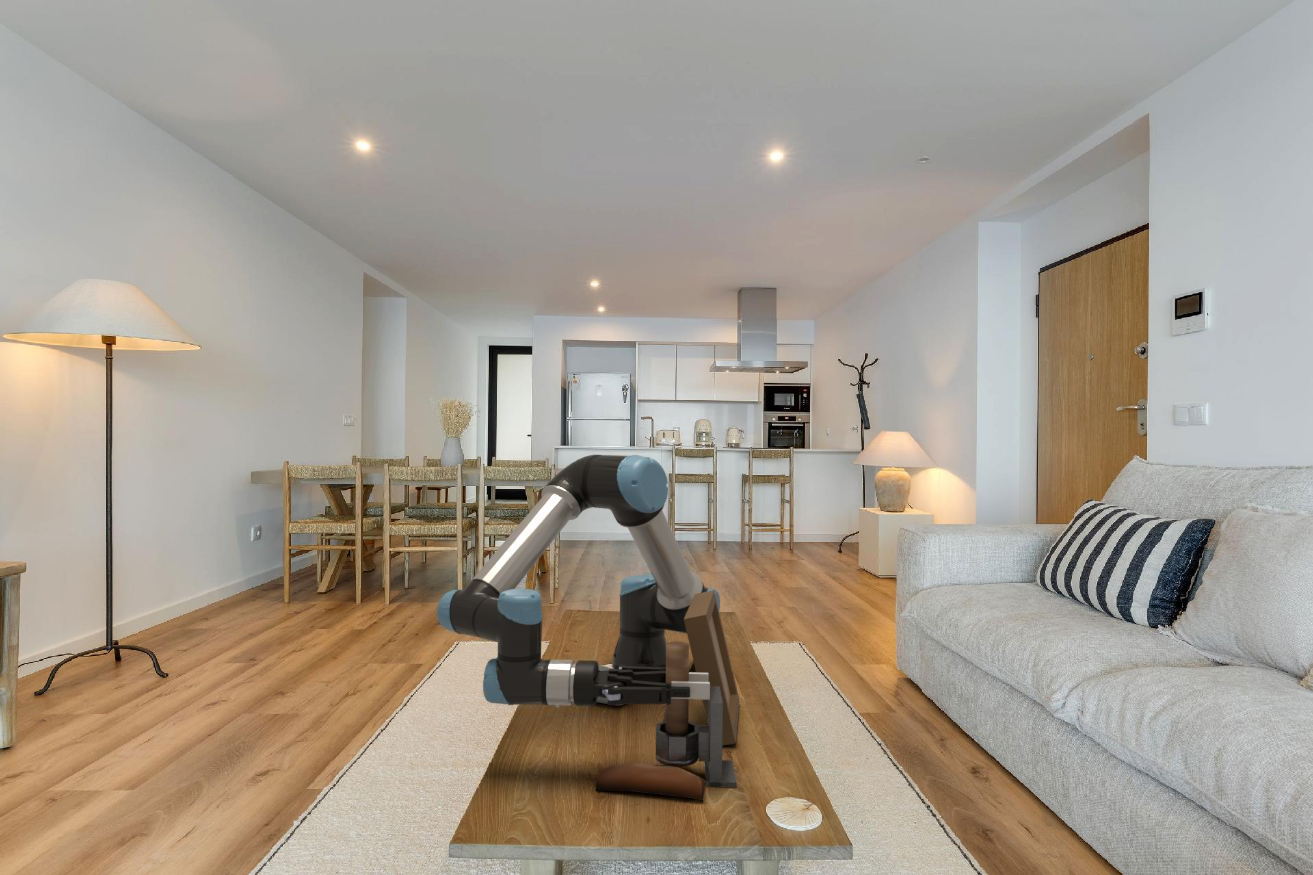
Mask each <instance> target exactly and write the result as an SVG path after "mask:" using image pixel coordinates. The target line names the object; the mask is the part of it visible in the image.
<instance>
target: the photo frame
mask: <svg viewBox="0 0 1313 875" xmlns="http://www.w3.org/2000/svg"><path fill="white" fill-rule="evenodd" d="M684 622H685V626H686V631H687V634H686V635H687V639H688V644H689V649H690V653H691V655H692V656H691V658H692V660H691V663H689V672H695V673H708V674H709V679H708V682H710V686H720V691H721V696H722V702H723V725H722V746H726V745H733V744H737V730H738V721H739V710H740V701H741V700H740V697H739V693H738V692H739V691H738V687H737V684H736V683H737V682H736V680H735V675H734V671H733V667H732V661H731V659H730V658H731V657H730V653H729V649H728V644H727V640H726V637H725V636H726V635H725V631H724V628H723V622H722V620H721V615H720V610H718V605H717V601H716V597H715V592H714V590H713V591H708V592H703V593H698V594H695V595H694V597H693V600H692V602H691V604H690V606H689V609H688V611H687V613H686V615H685V618H684ZM701 700H702V705H703V708H704V712H705V717H706V718H705V719H706V721H707V723H708V699H701ZM665 719H666V708H665V709H664V712H663V721H665ZM663 721H662V722H663Z"/></svg>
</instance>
